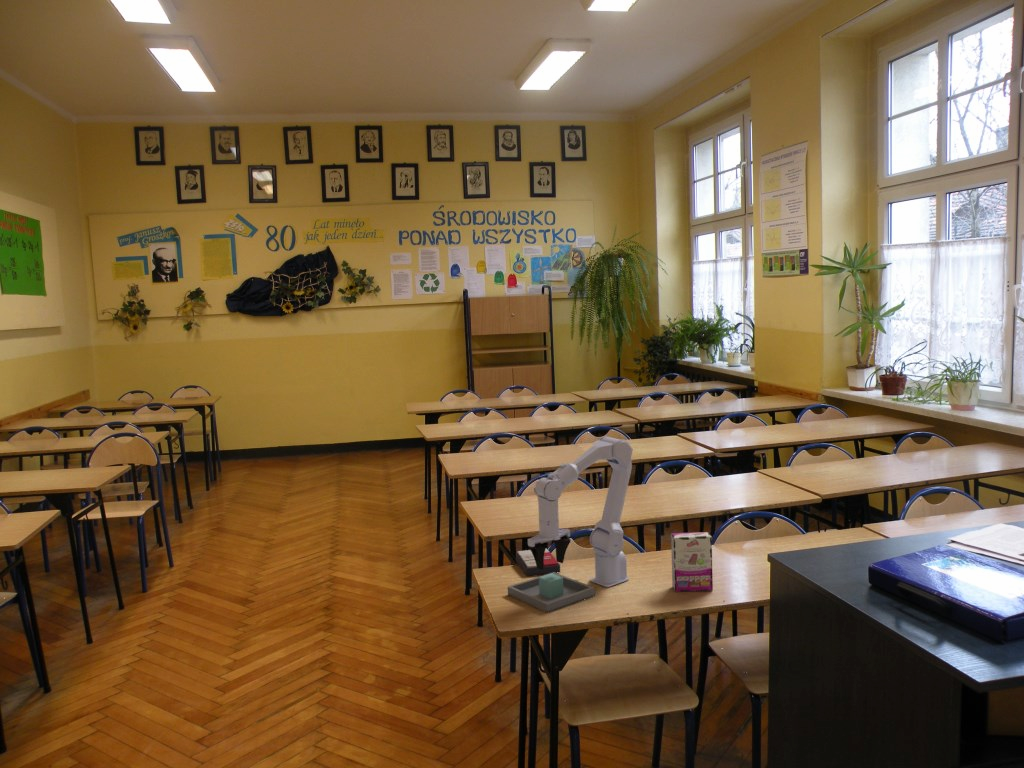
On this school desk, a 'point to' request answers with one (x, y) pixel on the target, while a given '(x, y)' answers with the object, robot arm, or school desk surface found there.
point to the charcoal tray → (531, 596)
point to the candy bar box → (691, 562)
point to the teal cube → (551, 585)
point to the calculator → (529, 564)
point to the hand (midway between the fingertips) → (550, 565)
